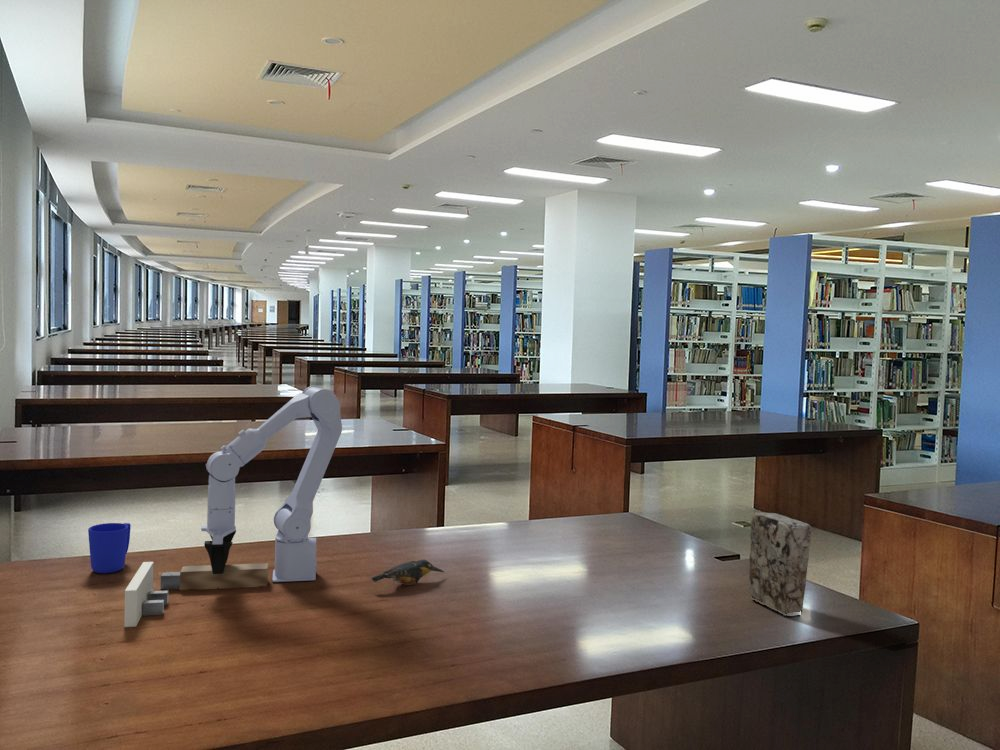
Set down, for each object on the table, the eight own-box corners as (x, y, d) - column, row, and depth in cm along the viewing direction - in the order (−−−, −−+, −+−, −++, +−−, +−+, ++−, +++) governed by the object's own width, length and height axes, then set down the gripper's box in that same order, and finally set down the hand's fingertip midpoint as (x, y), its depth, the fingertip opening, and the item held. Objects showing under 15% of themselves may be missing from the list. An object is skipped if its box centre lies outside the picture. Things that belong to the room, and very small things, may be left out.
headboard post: (172, 593, 166) (172, 561, 165) (157, 625, 148) (158, 589, 148) (142, 594, 164) (143, 562, 164) (124, 627, 147) (124, 590, 147)
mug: (144, 561, 187) (144, 520, 186) (114, 577, 175) (114, 533, 174) (111, 559, 188) (112, 517, 187) (79, 574, 176) (80, 530, 175)
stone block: (809, 615, 167) (815, 523, 166) (785, 619, 164) (791, 526, 163) (763, 595, 179) (768, 509, 178) (740, 599, 176) (745, 511, 175)
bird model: (377, 596, 169) (378, 573, 169) (365, 589, 173) (366, 567, 172) (449, 579, 182) (450, 558, 182) (437, 574, 186) (437, 553, 185)
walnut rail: (267, 580, 176) (268, 563, 176) (267, 586, 173) (267, 568, 172) (163, 584, 171) (163, 567, 171) (159, 591, 167) (160, 572, 167)
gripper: (205, 499, 177) (204, 558, 178) (197, 515, 163) (196, 579, 164) (238, 499, 179) (237, 557, 180) (233, 514, 165) (231, 577, 166)
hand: (219, 568), depth 172 cm, fingers open, 7 cm apart
